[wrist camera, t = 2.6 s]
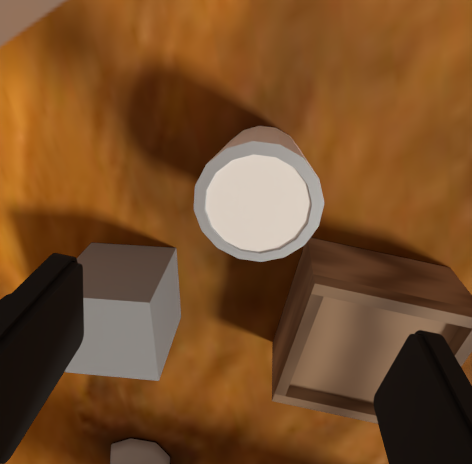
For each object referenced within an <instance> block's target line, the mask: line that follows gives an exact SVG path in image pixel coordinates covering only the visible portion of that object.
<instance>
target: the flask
mask: <svg viewBox="0 0 472 464" xmlns="http://www.w3.org/2000/svg"><path fill="white" fill-rule="evenodd" d="M110 464H170V457H169V456H168V454H167V453H166V452H165V451H164V450H163V449H162V448H161V447H160V446H159V445H158V444H157V443H155V442H149V441H143V440H137V439H132V438H130V439H127V440H124V441H120V442H117V443H114V444H111V457H110Z"/></svg>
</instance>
